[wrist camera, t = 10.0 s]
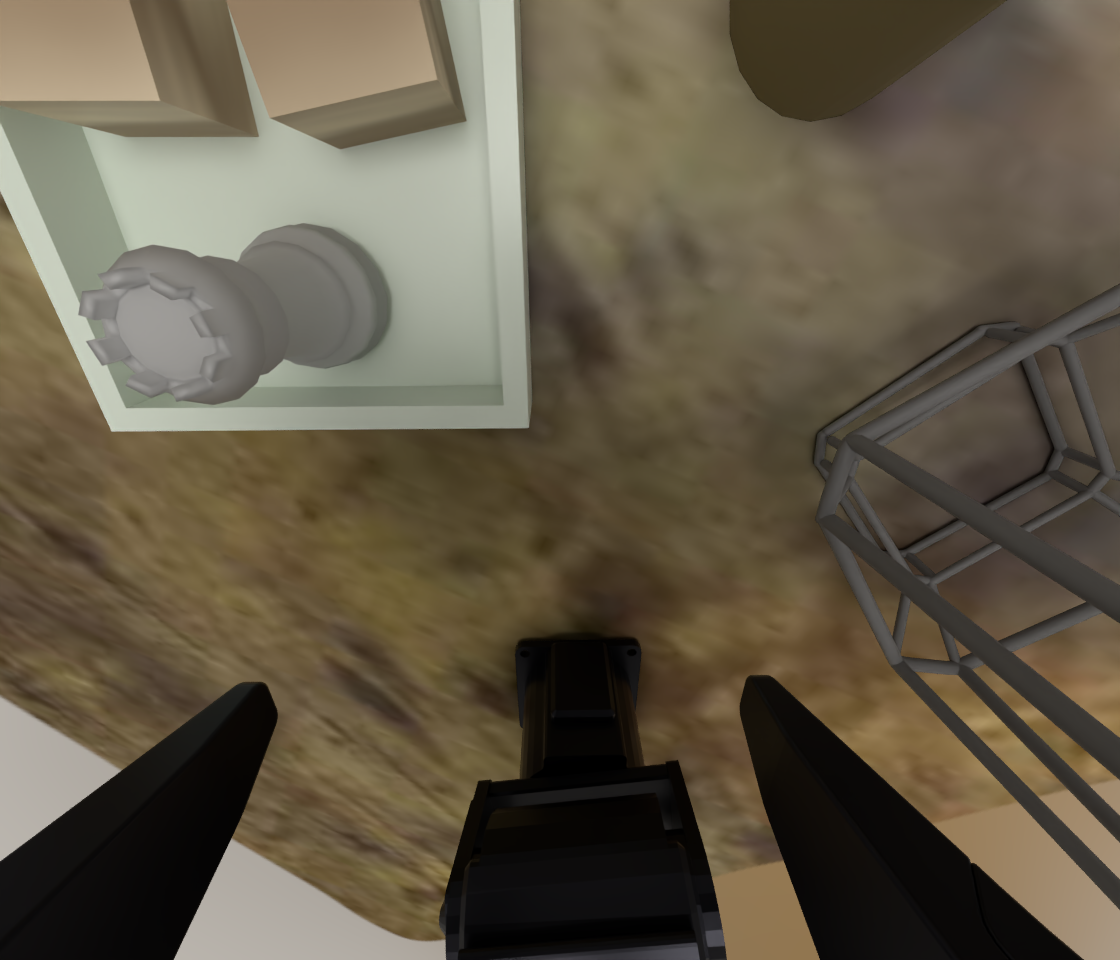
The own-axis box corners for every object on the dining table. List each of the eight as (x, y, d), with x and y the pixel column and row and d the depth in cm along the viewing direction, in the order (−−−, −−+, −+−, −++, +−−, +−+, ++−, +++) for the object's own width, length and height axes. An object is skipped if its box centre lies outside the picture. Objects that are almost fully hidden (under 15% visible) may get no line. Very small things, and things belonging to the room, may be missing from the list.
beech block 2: (466, 121, 14) (437, 79, 10) (340, 149, 14) (270, 118, 11) (426, -65, 12) (374, -192, 9) (282, -29, 13) (175, -137, 9)
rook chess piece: (348, 386, 18) (209, 483, 11) (236, 299, 16) (-13, 344, 9) (418, 294, 16) (313, 333, 9) (301, 190, 15) (69, 140, 8)
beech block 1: (259, 137, 14) (159, 100, 11) (125, 137, 14) (-19, 100, 11) (214, -49, 12) (77, -167, 9) (61, -50, 12) (-139, -169, 9)
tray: (532, 400, 19) (528, 428, 16) (177, 403, 18) (111, 431, 16) (516, -115, 12) (505, -219, 10) (-23, -117, 12) (-192, -223, 9)
